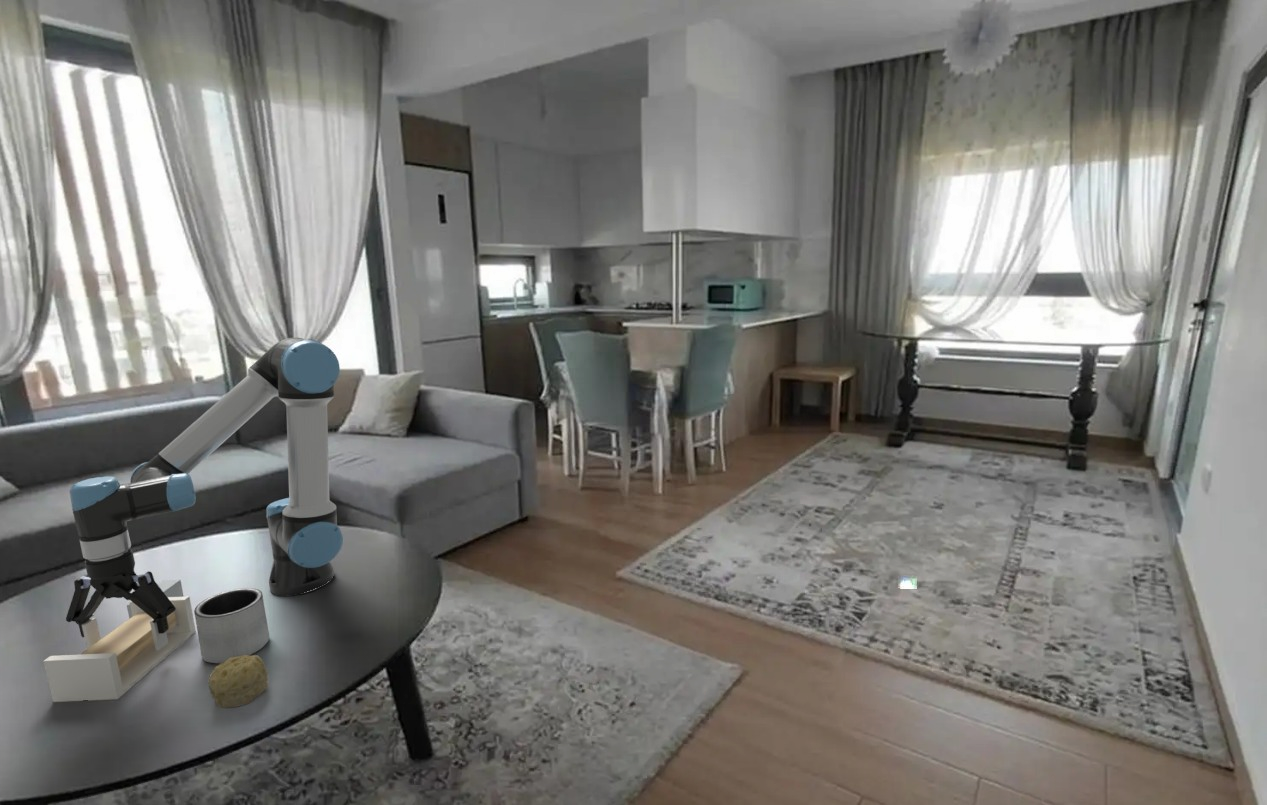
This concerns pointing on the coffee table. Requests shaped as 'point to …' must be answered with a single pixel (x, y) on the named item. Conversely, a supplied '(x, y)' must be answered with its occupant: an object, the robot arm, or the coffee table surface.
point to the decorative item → (238, 681)
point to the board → (129, 638)
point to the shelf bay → (113, 663)
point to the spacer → (166, 590)
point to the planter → (231, 624)
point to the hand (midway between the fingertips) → (128, 648)
